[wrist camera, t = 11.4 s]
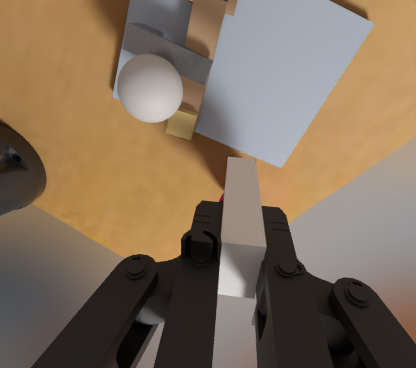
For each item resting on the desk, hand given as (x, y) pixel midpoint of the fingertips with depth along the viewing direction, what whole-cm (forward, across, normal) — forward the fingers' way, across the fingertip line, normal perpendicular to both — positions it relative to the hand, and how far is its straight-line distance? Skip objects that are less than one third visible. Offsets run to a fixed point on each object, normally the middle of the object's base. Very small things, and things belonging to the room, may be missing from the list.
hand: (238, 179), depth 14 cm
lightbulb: (+20, -9, +2) cm, 22 cm away
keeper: (+20, -8, +5) cm, 22 cm away
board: (+20, -2, +4) cm, 21 cm away
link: (+19, -5, +5) cm, 20 cm away
